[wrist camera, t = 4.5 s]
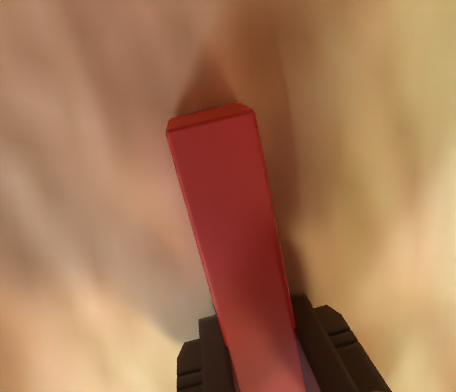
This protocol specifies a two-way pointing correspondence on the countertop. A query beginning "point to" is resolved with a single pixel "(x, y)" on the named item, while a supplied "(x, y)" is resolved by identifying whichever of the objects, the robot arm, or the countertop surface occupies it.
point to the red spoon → (238, 243)
